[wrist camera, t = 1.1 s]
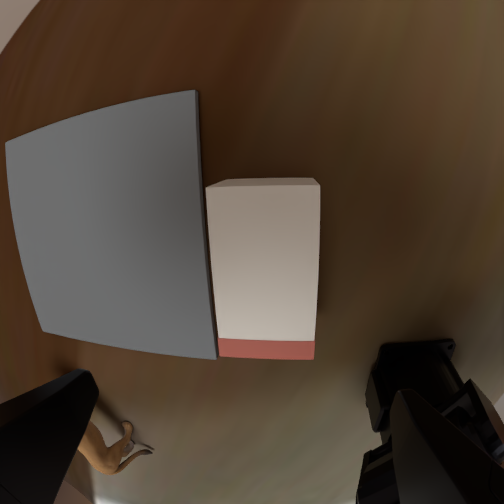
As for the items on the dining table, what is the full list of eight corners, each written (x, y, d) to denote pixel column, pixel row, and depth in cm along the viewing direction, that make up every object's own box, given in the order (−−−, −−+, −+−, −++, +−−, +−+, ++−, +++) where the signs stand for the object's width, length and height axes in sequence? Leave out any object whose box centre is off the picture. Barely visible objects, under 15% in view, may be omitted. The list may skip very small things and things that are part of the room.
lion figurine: (50, 372, 26) (6, 420, 18) (63, 355, 25) (12, 409, 16) (143, 452, 29) (117, 508, 20) (167, 445, 27) (140, 508, 19)
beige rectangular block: (313, 177, 17) (321, 185, 12) (310, 316, 20) (313, 359, 15) (226, 179, 17) (204, 187, 13) (234, 315, 20) (219, 356, 16)
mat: (198, 91, 16) (194, 89, 15) (218, 354, 21) (216, 359, 21) (10, 142, 18) (5, 142, 18) (46, 328, 24) (42, 331, 23)
